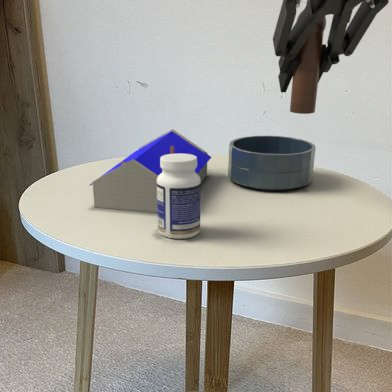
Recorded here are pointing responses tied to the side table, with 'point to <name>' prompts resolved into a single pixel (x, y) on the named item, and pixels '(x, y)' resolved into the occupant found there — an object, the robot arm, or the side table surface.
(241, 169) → the bowl
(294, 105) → the brown cylinder
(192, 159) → the pill bottle
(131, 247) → the side table surface
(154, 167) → the toy house model
